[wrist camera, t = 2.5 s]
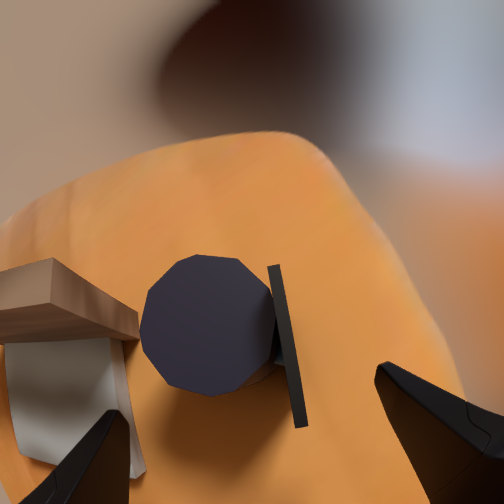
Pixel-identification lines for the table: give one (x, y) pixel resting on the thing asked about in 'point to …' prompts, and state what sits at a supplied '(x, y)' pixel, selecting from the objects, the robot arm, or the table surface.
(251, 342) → the dark grey mug
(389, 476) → the table surface
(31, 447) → the wall board
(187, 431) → the table surface
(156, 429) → the table surface
